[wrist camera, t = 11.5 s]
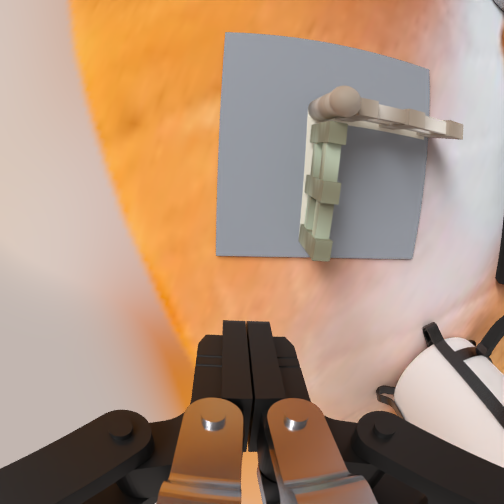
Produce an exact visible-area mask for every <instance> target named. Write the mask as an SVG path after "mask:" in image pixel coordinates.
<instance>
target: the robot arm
mask: <svg viewBox="0 0 504 504" xmlns="http://www.w3.org/2000/svg"><path fill="white" fill-rule="evenodd" d="M494 1H495V3H496V4H497V5H498V6H499V7H500V8H501V9H502V10H503V11H504V0H494ZM247 441H248V451H249V452H257V453H258V462H259V463H258V468H257V477H258V482H259V487H260V492H261V496H262V502H263V504H504V468H503V467H501V466H498V465H496V464H494V463H492V462H489V461H487V460H485V459H483V458H480V457H478V456H476V455H474V454H472V453H470V452H467V451H465V450H463V449H461V448H459V447H457V446H455V445H453V444H451V443H449V442H447V441H445V440H443V439H441V438H439V437H437V436H435V435H433V434H431V433H429V432H427V431H425V430H423V429H421V428H419V427H417V426H415V425H413V424H411V423H410V422H408V421H406V420H404V419H402V418H400V417H398V416H397V415H394V414H392V413H389V412H385V411H374V412H370V413H367V414H366V415H364V416H363V417H362V418H361V419H360V420H359V422H358V423H353V422H346V421H339V420H334V419H331V418H328V417H326V416H324V415H323V413H322V411H321V410H320V408H319V407H317V406H316V405H315V404H313V403H312V402H311V401H310V398H309V395H308V391H307V388H306V385H305V381H304V378H303V375H302V371H301V368H300V365H299V361H298V359H297V355H296V351H295V348H294V346H293V345H292V344H291V343H290V342H289V341H288V340H287V339H286V338H285V337H273V336H272V331H271V327H270V323H269V322H258V321H247V323H245V321H228V320H223V335H205V337H204V338H203V339H202V340H201V341H200V342H199V344H198V350H197V358H196V366H195V374H194V382H193V390H192V398H191V403H190V405H189V406H188V407H187V409H186V410H185V412H184V413H183V414H181V415H180V416H178V417H176V418H173V419H171V420H166V421H160V422H153V423H148V421H147V420H146V419H145V418H144V417H143V416H141V415H140V414H138V413H136V412H133V411H129V410H115V411H111V412H108V413H106V414H104V415H102V416H100V417H98V418H97V419H95V420H93V421H91V422H90V423H88V424H86V425H84V426H83V427H81V428H79V429H77V430H75V431H73V432H72V433H70V434H68V435H66V436H64V437H63V438H61V439H59V440H57V441H55V442H53V443H51V444H49V445H47V446H45V447H43V448H41V449H39V450H38V451H36V452H34V453H32V454H30V455H28V456H26V457H24V458H22V459H20V460H18V461H16V462H14V463H11V464H10V465H8V466H5V467H3V468H1V469H0V504H155V503H156V502H157V504H241V465H242V455H243V452H246V449H247Z"/></svg>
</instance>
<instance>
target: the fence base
mask: <svg viewBox="0 0 504 504" xmlns="http://www.w3.org/2000/svg"><path fill="white" fill-rule="evenodd" d="M308 112H309V115H310V116H311V118H312V119H314V120H316V121H325V120H329V119H334V118H335V120H341V121H347V122H355V121H365V122H371V123H376V124H379V127H382V128H387V129H392V130H396V129H405V130H410V131H414V132H417V133H416V135H420V136H424V137H428V138H446V139H462V140H463V124H460V123H457V122H454V121H451V120H448V121H442V120H439V119H435V118H432V117H429V116H425V113H424V112H421V111H417V110H413V109H403V110H402V109H398V108H394V107H389V106H385V105H380V104H379V101H376V100H371V99H366V98H361V97H360V95H359V93H358V92H357V91H356V90H355V89H354V88H352V87H350V86H339V87H336V88H335V89H334V90H333V91H332V92H330V93H328V94H325V95H323V96H321V97H319V98H317V99H315V100H313V101H312V102H311V103H310V104H309V106H308Z"/></svg>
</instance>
